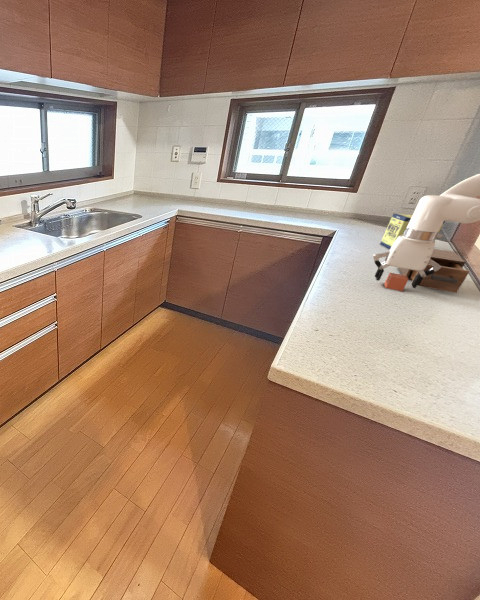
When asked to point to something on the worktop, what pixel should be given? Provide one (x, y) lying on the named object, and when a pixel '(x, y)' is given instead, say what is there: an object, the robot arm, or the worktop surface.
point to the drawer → (443, 276)
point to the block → (396, 281)
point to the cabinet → (438, 255)
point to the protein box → (396, 229)
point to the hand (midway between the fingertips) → (394, 282)
